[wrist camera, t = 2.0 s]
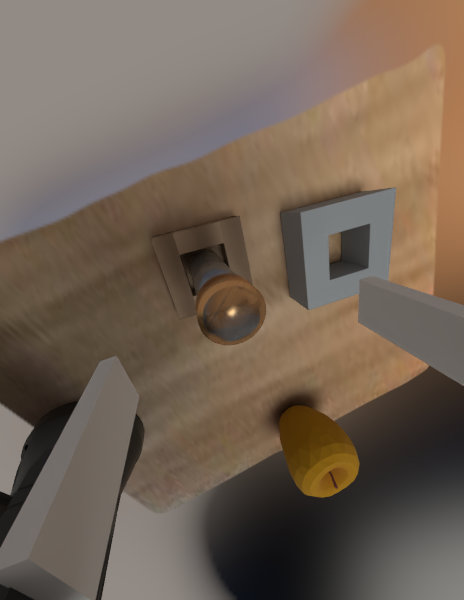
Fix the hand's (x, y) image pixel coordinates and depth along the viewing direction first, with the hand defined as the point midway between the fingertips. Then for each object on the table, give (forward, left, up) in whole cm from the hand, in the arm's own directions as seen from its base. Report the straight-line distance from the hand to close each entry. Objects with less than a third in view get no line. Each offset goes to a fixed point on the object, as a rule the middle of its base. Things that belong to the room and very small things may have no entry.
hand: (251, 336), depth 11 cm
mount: (0, 0, -18) cm, 18 cm away
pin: (0, 0, -18) cm, 18 cm away
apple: (+9, -33, -18) cm, 39 cm away
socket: (+17, -2, -18) cm, 25 cm away
